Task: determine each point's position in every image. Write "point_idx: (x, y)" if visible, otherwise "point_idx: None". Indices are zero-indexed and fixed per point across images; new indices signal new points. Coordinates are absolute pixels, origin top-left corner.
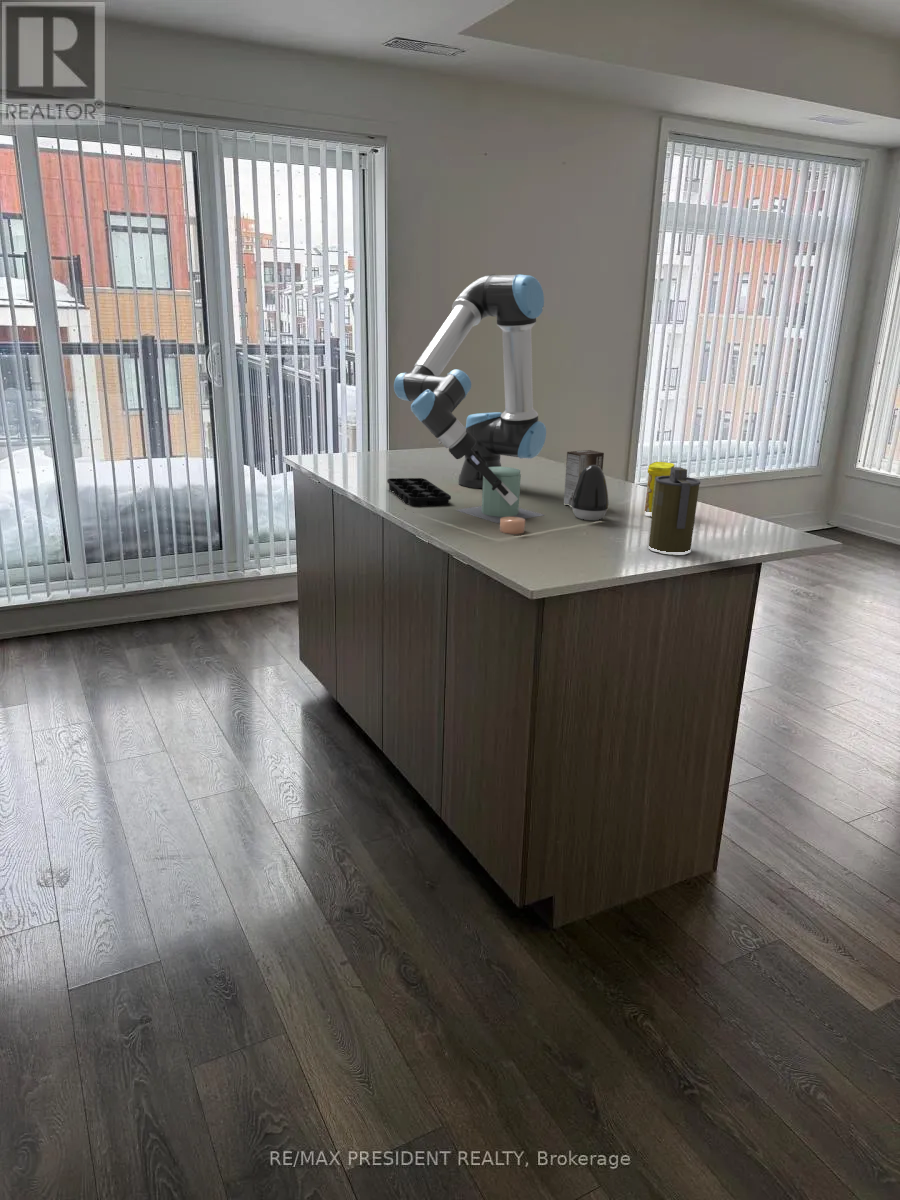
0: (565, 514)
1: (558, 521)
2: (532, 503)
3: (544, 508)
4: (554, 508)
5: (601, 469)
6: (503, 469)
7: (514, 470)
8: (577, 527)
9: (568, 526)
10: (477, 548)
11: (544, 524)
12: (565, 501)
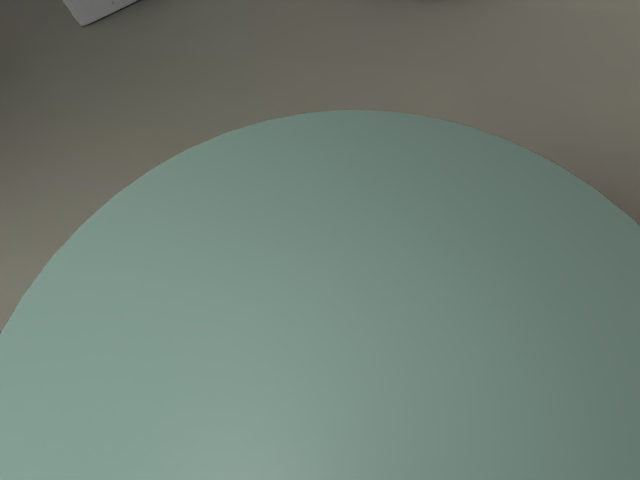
0: (310, 35)
1: (500, 82)
2: (16, 180)
3: (158, 126)
4: (160, 75)
5: None
6: (282, 410)
7: (366, 200)
8: (628, 5)
9: (618, 44)
10: None
11: (608, 164)
12: (85, 1)
